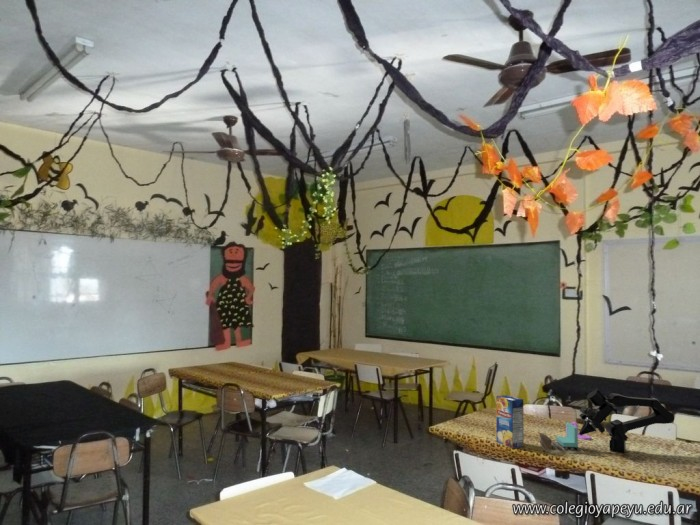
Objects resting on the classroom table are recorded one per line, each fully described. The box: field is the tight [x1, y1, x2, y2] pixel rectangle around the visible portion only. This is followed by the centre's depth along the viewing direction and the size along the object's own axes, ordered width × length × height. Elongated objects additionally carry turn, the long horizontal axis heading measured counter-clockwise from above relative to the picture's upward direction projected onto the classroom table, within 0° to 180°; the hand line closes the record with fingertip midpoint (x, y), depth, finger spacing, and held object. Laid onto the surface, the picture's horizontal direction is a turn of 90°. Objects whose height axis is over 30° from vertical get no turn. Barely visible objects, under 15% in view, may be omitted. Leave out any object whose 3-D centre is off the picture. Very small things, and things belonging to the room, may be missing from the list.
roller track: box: [538, 432, 585, 455], centre depth 259 cm, size 18×13×6 cm
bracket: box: [565, 421, 592, 441], centre depth 282 cm, size 13×6×7 cm, turn 31°
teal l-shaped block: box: [555, 422, 579, 447], centre depth 259 cm, size 7×11×9 cm, turn 177°
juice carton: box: [496, 394, 525, 449], centre depth 266 cm, size 12×8×24 cm, turn 25°
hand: (579, 434), depth 259 cm, fingers closed
